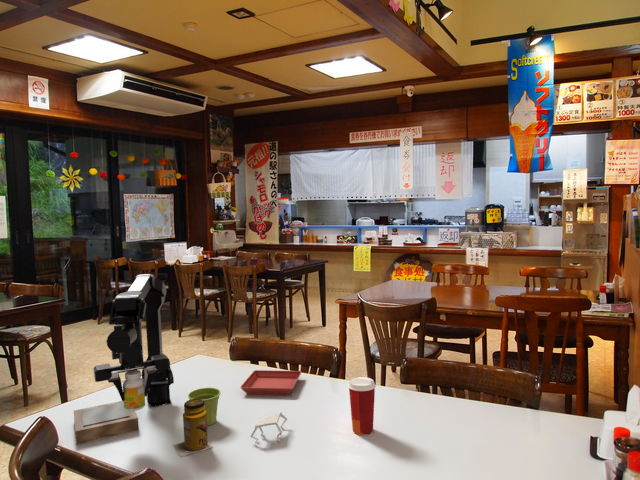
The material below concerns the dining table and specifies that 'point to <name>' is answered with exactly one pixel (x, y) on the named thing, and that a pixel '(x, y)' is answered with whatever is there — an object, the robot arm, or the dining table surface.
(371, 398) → the paper cup
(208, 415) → the plant pot
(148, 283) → the robot arm
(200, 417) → the condiment
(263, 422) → the miniature table
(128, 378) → the supplement bottle
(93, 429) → the framed mirror
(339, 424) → the dining table surface
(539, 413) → the dining table surface
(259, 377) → the plant saucer
